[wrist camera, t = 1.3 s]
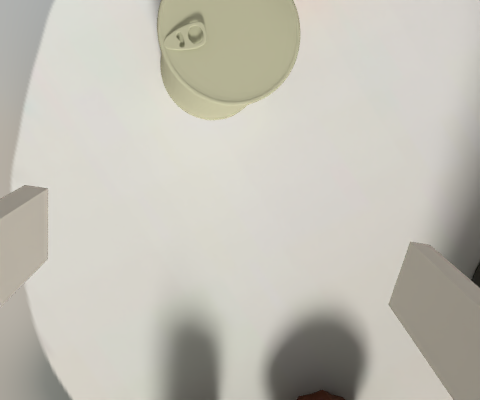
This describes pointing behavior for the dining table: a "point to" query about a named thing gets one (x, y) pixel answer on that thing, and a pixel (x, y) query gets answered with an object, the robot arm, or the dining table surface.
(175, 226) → the dining table surface
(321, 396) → the muffin
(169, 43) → the can
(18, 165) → the dining table surface
